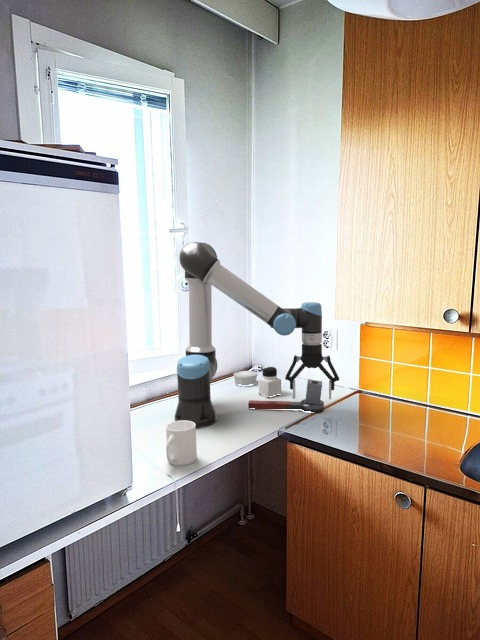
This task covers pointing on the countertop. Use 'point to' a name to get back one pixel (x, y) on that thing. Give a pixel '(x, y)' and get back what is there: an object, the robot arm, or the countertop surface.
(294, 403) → the ratchet
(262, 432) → the countertop surface
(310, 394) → the socket
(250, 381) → the ramekin
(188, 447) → the mug
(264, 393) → the medicine bottle
